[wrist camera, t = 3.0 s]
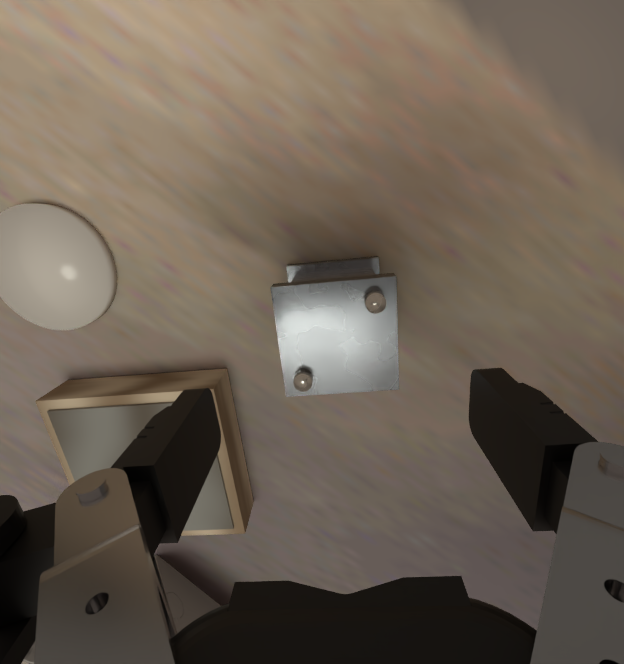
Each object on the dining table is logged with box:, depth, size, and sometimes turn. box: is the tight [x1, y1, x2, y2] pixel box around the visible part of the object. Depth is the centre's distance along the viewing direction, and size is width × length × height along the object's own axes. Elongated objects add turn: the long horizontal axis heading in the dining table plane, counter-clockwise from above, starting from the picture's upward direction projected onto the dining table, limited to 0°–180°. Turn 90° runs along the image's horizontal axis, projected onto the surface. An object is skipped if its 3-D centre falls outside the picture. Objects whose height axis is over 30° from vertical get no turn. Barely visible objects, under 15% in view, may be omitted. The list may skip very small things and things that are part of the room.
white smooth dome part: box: [0, 203, 117, 330], centre depth 23 cm, size 8×8×1 cm
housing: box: [271, 256, 399, 397], centre depth 19 cm, size 6×6×7 cm
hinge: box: [155, 555, 221, 633], centre depth 30 cm, size 17×5×10 cm, turn 40°
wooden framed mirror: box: [36, 368, 254, 536], centre depth 26 cm, size 12×12×3 cm
